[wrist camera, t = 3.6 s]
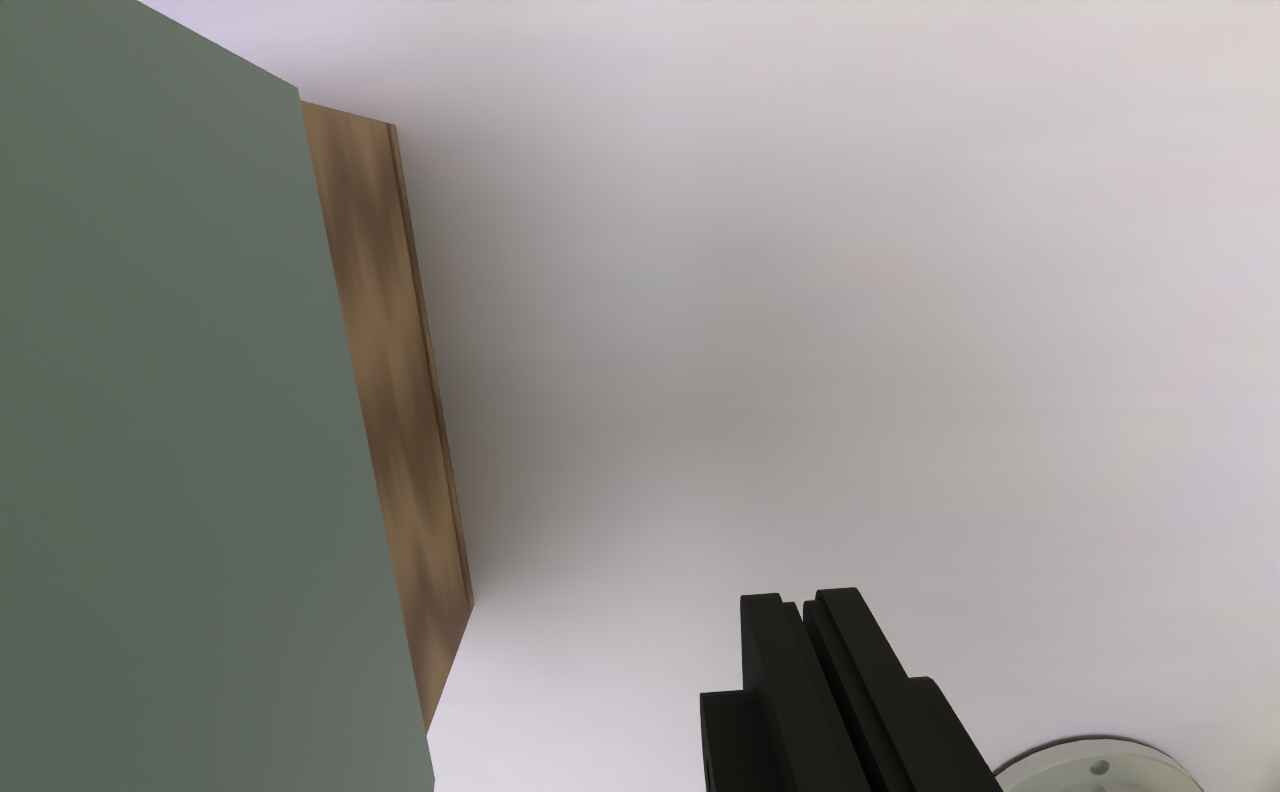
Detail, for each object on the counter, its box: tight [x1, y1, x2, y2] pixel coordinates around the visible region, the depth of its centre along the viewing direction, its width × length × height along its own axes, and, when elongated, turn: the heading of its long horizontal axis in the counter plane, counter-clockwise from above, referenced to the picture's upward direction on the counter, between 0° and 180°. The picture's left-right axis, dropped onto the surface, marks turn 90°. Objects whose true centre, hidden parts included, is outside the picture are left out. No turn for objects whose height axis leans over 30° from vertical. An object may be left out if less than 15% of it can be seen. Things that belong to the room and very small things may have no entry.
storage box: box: [300, 101, 474, 735], centre depth 25 cm, size 20×16×10 cm
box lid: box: [0, 0, 435, 792], centre depth 12 cm, size 20×16×1 cm
